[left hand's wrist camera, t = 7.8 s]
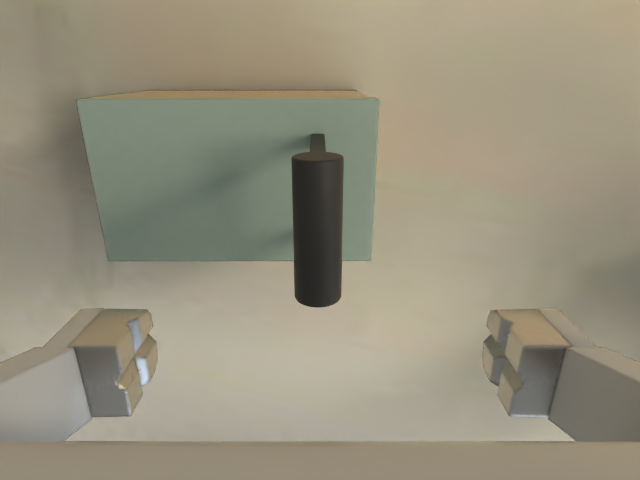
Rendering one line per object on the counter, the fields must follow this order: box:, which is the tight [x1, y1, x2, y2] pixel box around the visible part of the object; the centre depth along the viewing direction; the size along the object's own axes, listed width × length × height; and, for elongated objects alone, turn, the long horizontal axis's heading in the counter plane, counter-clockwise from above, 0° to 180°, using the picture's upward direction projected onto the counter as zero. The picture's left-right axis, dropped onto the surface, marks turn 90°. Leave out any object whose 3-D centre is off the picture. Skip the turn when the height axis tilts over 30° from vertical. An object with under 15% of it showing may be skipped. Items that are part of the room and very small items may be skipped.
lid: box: [76, 98, 379, 307], centre depth 21 cm, size 16×9×9 cm, turn 90°
